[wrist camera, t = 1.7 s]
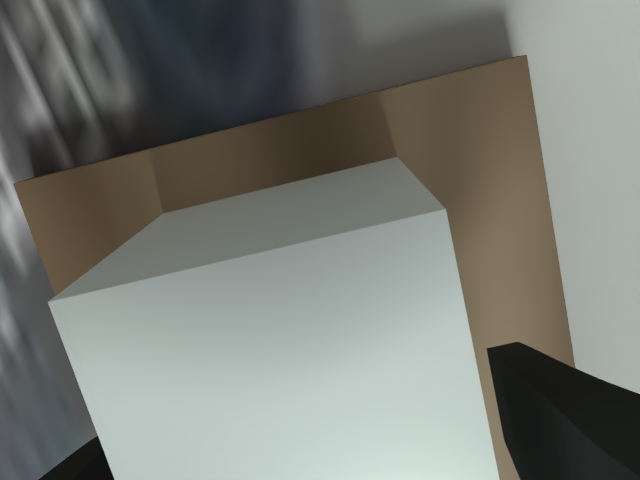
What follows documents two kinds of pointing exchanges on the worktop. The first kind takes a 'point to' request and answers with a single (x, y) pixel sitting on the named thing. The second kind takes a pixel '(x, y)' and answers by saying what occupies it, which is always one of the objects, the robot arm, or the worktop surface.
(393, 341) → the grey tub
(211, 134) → the walnut board
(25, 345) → the worktop surface
